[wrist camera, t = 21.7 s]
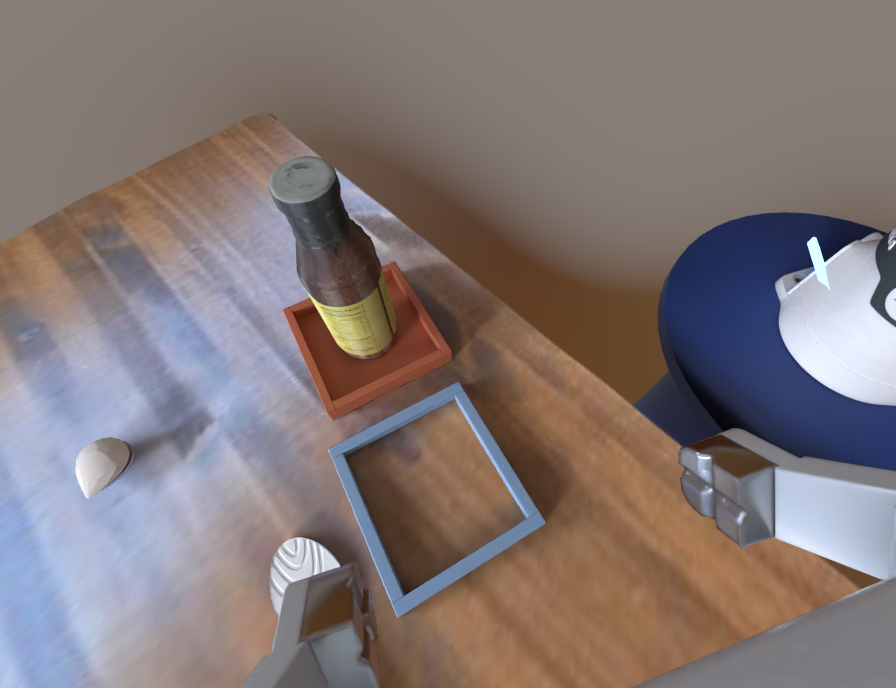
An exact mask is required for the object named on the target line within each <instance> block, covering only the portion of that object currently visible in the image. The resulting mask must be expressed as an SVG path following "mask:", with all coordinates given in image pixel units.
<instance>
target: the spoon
mask: <svg viewBox="0 0 896 688" xmlns="http://www.w3.org/2000/svg"><path fill="white" fill-rule="evenodd" d="M271 564H272V565H271V571H270V579H269V582H270V583H269V584H270V586H269V587H270V594H271V597H272V598H271V599H272V600H271V601H272V603H273V604H272V605H273V608H274V610H275V612H276V614H277V617H278V618H279V615H280V611H281V606H282V601H283V597H284V592H285V589H286V587H287V586H288V585H289V583H293V582H296V581H299V580H302V579H305V578H308V577H311V576H313V575H316V574H319V573H322V572H325V571H328V570H331V569H334V568H337V567H340V566H341V565H340V563H339V562H338V561H337V559H336V558H335V557H334V555H333V554H332V553H331V552H330V551H329V550H327V548H325V547H324V546H323V545H322V544H320V543H318V542H316V541H314V540H311V539H307V538H302V537H296V538H292V539H289V540H287V541H286V542H284V543H283V544H281V546H280V547H279V549H278V550H277V551H276V553H275V555H274V557H273V561H272V563H271Z"/></svg>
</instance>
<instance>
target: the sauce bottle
mask: <svg viewBox="0 0 896 688" xmlns="http://www.w3.org/2000/svg"><path fill="white" fill-rule="evenodd" d="M340 189H341V187H340V183H339V180H338V177H337V175H336V172H335V170H334V168H333V167H332V166H331V165H330V163H329V162H327V161H326V160H324V159H321V158H318V157H312V156H304V157H299V158H295V159H292V160H290V161H288V162H286V163H284V164H282V165H280V166H279V167H278V168H276V169H275V170H274V172H273V173H272V175H271V177H270V181H269V190H270V193H271V195H272V197H273V199H274V202H275V204H276V205H277V207H278V209H279V210H280V211H281V212H283V213H284V214H285V216H286V218H287V219H288V222H289V224H290V225H291V227H292V229H293V234H294V236H295V238H296V261H297V273H298V276H299V279H300V281H301V283H302V285H303V287H304V288H305V290H306V292H307V294H308V295H309V297H310V298H311V300H312V302H313V303H314V305H315V307H316V308H317V310H318V312H319V313H320V315H321V317H322V319H323V320H324V322H325V324H326V326H327V327H328V329H329V331H330V332H331V334H332V336H333V338H334V339H335V341H336V343H337V344H338V345H339V346H340V348H342V349H343V350H344V351H345V352H346V353H347V354H349V355H350V356H352V357H354V358H359V359H372V358H377V357H380V356H381V355H383V354H384V353H386V352H387V350H389V349H390V348H391V346H392V345H393V344H394V342H395V341H396V337H397V321H396V316H395V313H394V309H393V306H392V302H391V299H390V295H389V292H388V288H387V285H386V281H385V278H384V274H383V271H382V267H381V264H380V261H379V259H378V257H377V255H376V251H375V247H374V244H373V242H372V240H371V238H370V237H369V236H368V235H367V234H366V233H365V232H364V231H363V229H362V227H360V226H359V225H357V224H356V223H355V222H354V221H353V220H351V219H350V218H349V215H348V213H347V212H346V210H345V208H344V204H343V202H342V200H341V196H340V195H341V194H340Z"/></svg>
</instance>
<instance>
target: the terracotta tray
mask: <svg viewBox="0 0 896 688" xmlns="http://www.w3.org/2000/svg"><path fill="white" fill-rule="evenodd" d="M382 271H383V274H384V278H385V281H386V285H387V288H388V292H389V295H390V299H391V302H392V306H393V309H394V313H395V316H396V321H397V337H396V341H395V342H394V344H393V345H392V346H391V348H390V349H389V350H387V352H386V353H384V354H383V355H381V356H380V357H377V358H372V359H359V358H354V357H352V356H350V355H349V354H347V353H346V352H345V351H344V350H343V349H342V348H340V346H339V345H338V344H337V343H336V341H335V339H334V338H333V336H332V334H331V332H330V331H329V329H328V327H327V326H326V324H325V322H324V320H323V319H322V317H321V315H320V313H319V312H318V310H317V308H316V307H315V305H314V303H313V302H312V300H311V298H309V299H307V300H304V301H302V302H300V303H297V304H295V305H293V306H291V307H288V308H285V309H283V312H284V314H285V316H286V319H287V321H288V323H289V326H290V328H291V330H292V333H293V335H294V337H295V340H296V342H297V344H298V347H299V349H300V351H301V354H302V356H303V358H304V360H305V363H306V365H307V367H308V370H309V372H310V374H311V377H312V379H313V381H314V384H315V386H316V388H317V391H318V393H319V395H320V398H321V400H322V402H323V405H324V407H325V409H326V412H327V413H328V415H329V416H330V417H331V418H332V420H334V419H336V418H338V417H340V416H342V415H344V414H346V413H348V412H350V411H352V410H354V409H356V408H358V407H360V406H362V405H364V404H366V403H368V402H370V401H372V400H374V399H376V398H378V397H380V396H382V395H384V394H386V393H388V392H390V391H392V390H394V389H396V388H398V387H400V386H402V385H404V384H406V383H408V382H410V381H412V380H414V379H416V378H418V377H420V376H422V375H424V374H426V373H428V372H430V371H432V370H434V369H436V368H438V367H440V366H442V365H444V364H445V363H447V362H449V361H451V360H452V351H451V349H450V348H449V346H448V344H447V343H446V341H445V340H444V338H443V336H442V335H441V333H440V332H439V330H438V329H437V327H436V325H435V324H434V322H433V321H432V319H431V318H430V316H429V314H428V313H427V311H426V310H425V308H424V307H423V305H422V303H421V302H420V300H419V299H418V297H417V295H416V294H415V292H414V291H413V289H412V288H411V286H410V284H409V283H408V281H407V280H406V278H405V277H404V275H403V273H402V272H401V270H400V269H399V267H398V265H397V264H396V262H393V263H390V264H389V265H386V266H383V267H382Z"/></svg>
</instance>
